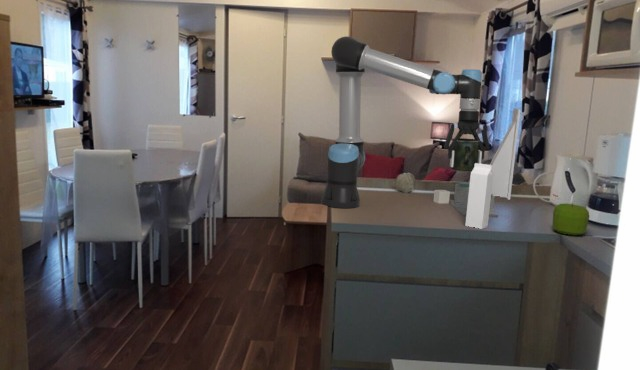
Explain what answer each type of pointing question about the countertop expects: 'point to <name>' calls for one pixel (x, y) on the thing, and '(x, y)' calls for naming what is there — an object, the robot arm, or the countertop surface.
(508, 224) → the countertop surface
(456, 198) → the grey storage bin
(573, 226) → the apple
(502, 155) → the white slanted panel
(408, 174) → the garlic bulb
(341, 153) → the robot arm
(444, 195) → the loose relay
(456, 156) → the mug
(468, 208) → the milk
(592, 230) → the countertop surface
